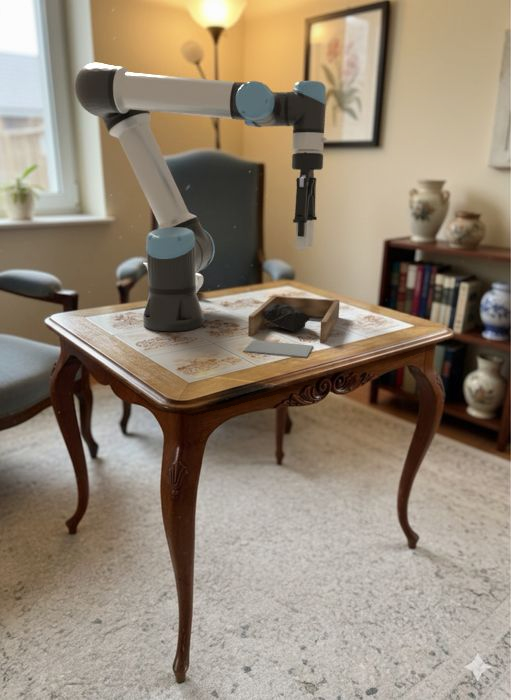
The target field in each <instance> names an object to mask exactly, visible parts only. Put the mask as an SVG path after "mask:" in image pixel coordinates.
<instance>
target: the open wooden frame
mask: <svg viewBox="0 0 511 700" xmlns="http://www.w3.org/2000/svg"><path fill="white" fill-rule="evenodd" d="M271 304H282V305H284V304H286V305H291V306H292V307H295V308H297V309H299V310H300V311H302V312H303V313H305V314H307V315H309V316H310V318H309V321H308V322H318V323H320V333H319V334H320V335H319V336H320V337H319V343H320V344H326V342H327V341H328V339H329V337H330V335H331V333H332V331H333V330H334V327H335V325H336V324H337V322H338V320H339V316H340V299H327V298H314V297H312V298H311V297H299V296H283V295H271V297H269V298H268V299H267V300H266V301H265V302H263V304H261V305H260V306H259V307H258V308H257V309H255V310H254V311H253V312H251V313H250V314H249V315H248V317H247V319H248V326H247V327H248V335H247V336H248V337H254V336H255V335H256V334H257V333H259V331H260V330H262V329H263V327H264V326H265V325H266V324H267V323H268V322H269V321H267V320H266V319H265V318H264V311H265V310H266V309H267V308H268V307H269V306H270V305H271Z"/></svg>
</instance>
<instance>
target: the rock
mask: <svg viewBox="0 0 511 700" xmlns="http://www.w3.org/2000/svg"><path fill="white" fill-rule="evenodd" d="M264 318H265V319H266V320H267V321H268V322H270V323H272V324H273V325H275V326H277V327H278V328H280V329H281V328H282V329H285V330H288V331H289V332H292V333H297V332H301V331H302V330H303V329H304V328H305V327H306V324H307V323H308V322H310V321H309V318H310V316H309V315H307V314H305V313H303V312H302V311H300V310H299V309H297V308H295V307H292V306H291V305H286V304H284V305H282V304H271V305H270V306H269V307H268V308H267V309H266V310H265V311H264Z"/></svg>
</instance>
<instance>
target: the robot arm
mask: <svg viewBox="0 0 511 700" xmlns="http://www.w3.org/2000/svg"><path fill="white" fill-rule="evenodd" d="M74 90H75V91H74V92H75V96H76V99H77V101H78V102H79V104H80V106H81V107H82V108H83V109H84V110H86V111H87V112H88V113H89V114H91V115H93V116H95V117H98V118H102V121H103V123H104V125H105V128H106V129H107V131H108V134H109V135H110V136H111V137H114V138H116V139H118V141H119V143H120V146H121V148H122V150H123V151H124V153H125V155H126V158H127V160H128V161H129V164H130V167H131V169H132V171H133V172H134V175H135V177H136V180H137V182H138V183H139V186H140V188H141V190H142V191H143V192H142V193H143V194H144V196H145V198H146V201H147V202H148V205H149V207H150V208H151V211H152V213H153V215H154V218H155V220H156V222H157V223H158V226H159V227H158V228H157V229H154V230H152V231H150V232H149V233H148V234H147V236H146V238H145V239H146V244H145V251H146V263H147V267H146V269H147V268H148V270H147V281H148V283H147V284H148V296H147V301H146V303H145V304H146V305H145V308H144V311H143V317H142V319H143V321H142V322H143V326H144V327H145V328H146V329H149V330H153V331H158V332H182V331H190V330H194V329H197V328H199V327H202V326H203V325H204V323H205V322H204V321H205V320H204V313H203V309H202V307H201V304H200V301H199V298H198V295H197V293H196V273H200V272H202V271H204V270H205V269H206V268H207V267H208V266H209V265H210V264H211V262H212V261H213V259H214V256H215V252H216V251H215V247H216V246H215V242H214V240H213V238H212V236H211V235H210V233H209V232H208V231H206V230H205V229H204V228H203V227H202V224H201V223H200V220H199V218H198V216H197V215H195V214H192V213H190V212H189V210H188V208H187V206H186V204H185V201H184V199H183V197H182V195H181V192H180V190H179V188H178V186H177V184H176V182H175V179H174V178H173V175H172V173H171V170H170V168H169V167H168V164H167V162H166V159H165V157H164V155H163V153H162V151H161V148H160V146H159V145H158V142H157V140H156V138H155V136H154V133H153V131H152V129H151V126H150V122H151V119H152V115H151V113H150V112H155V113H165V114H166V113H167V114H177V115H185V116H186V115H187V116H198V117H208V118H219V119H229V120H230V119H231V120H238V121H243V122H244V124H245V125H246V126H247V127H255V128H261V127H262V128H264V127H292V128H293V129H292V147H291V149H292V151H293V152H294V153H293V154H292V155H291V168H292V170H295V171H297V170H298V171H299V170H300V172H299V177H296V180H295V181H296V192H295V207H294V208H295V209H294V219H292V223H293V224H294V223H295V224H296V228H295V251H307V250H308V247H313V243H314V221H317V220H318V218H317V217H318V216H316V195H317V194H316V188H317V185H316V184H317V178H316V177H315V172H314V171H319V170H322V169H323V167H324V155H323V153H322V152H323V151H324V143H326V142H327V137H325V126H326V125H325V124H326V123H325V122H326V110H327V109H326V107H327V101H326V96H327V95H326V93H327V92H326V91H327V87H326V85H325V84H324V83H323V82H321V81H317V80H304V81H303V80H302V81H297V82H295V83H294V86H293V90H292V91H283V92H281V91H280V92H279V91H277V92H276V91H272V89H270V87H269V86H268V85H267V84H265V83H263V82H261V81H258V80H257V81H256V80H248V81H247V82H243V81H242V82H239V81H229V80H219V79H207V78H195V77H184V76H183V77H181V76H172V75H161V74H150V73H138V72H130V71H129V70H128V69H127V68H126V67H124V66H118V65H116V66H115V65H111V64H105V63H103V62H93V63H88V64H86V65H85V66H83V67H82V68H81V69H80V71H79V72H78V73H77V74H76V77H75V81H74Z"/></svg>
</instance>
